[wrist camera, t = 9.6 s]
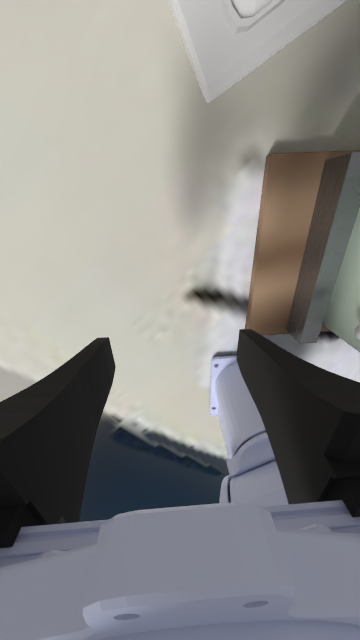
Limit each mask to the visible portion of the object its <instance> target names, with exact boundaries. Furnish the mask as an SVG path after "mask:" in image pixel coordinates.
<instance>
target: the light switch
mask: <svg viewBox="0 0 360 640" xmlns="http://www.w3.org/2000/svg"><path fill="white" fill-rule="evenodd" d="M167 1H168V4H169V6H170V9H171V12H172V14H173V17H174V20H175V22H176V25H177V28H178V30H179V33H180V36H181V38H182V41H183V44H184V46H185V49H186V51H187V54H188V57H189V59H190V62H191V65H192V67H193V70H194V73H195V75H196V78H197V81H198V83H199V86H200V89H201V91H202V94H203V97H204V99H205V101H207V102H208V103H209V102H212V101H213V100H214V99H216V98H217V97H218V96H220V95H221V94H222V93H224V92H225V91H226V90H228V89H229V88H230V87H232V86H233V85H234V84H236V83H237V82H238V81H240V80H241V79H242V78H244V77H245V76H246V75H248V74H249V73H250V72H252V71H253V70H254V69H256V68H257V67H258V66H260V65H261V64H262V63H264V62H265V61H266V60H268V59H269V58H270V57H272V56H273V55H274V54H276V53H277V52H279V51H280V50H281V49H283V48H284V47H285V46H287V45H288V44H289V43H291V42H292V41H293V40H295V39H296V38H297V37H299V36H300V35H301V34H303V33H304V32H305V31H307V30H308V29H309V28H311V27H312V26H313V25H315V24H316V23H317V22H319V21H320V20H321V19H323V18H324V17H325V16H327V15H328V14H329V13H331V12H332V11H333V10H335V9H336V8H337V7H339V6H340V5H341V4H343V3H344V2H345V1H347V0H167ZM248 17H249V18H248ZM242 18H243V19H242Z"/></svg>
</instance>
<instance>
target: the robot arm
mask: <svg viewBox="0 0 360 640" xmlns="http://www.w3.org/2000/svg"><path fill="white" fill-rule="evenodd" d="M215 364H217V365H215ZM114 373H115V362H114V358H113V354H112V349H111V345H110V341H109V337H107V338H97V339H95V340H94V341H93V342H91V343H90V344H89V345H88V346H86V347H85V348H84V349H83V350H81V351H80V352H79V353H78V354H76V355H75V356H74V357H73V358H71V359H70V360H69V361H67V362H66V363H65V364H63V365H62V366H60V367H59V368H58V369H56V370H55V371H54V372H52V373H51V374H49V375H48V376H46V377H45V378H43V379H41V380H40V381H38V382H36V383H35V384H33V385H31V386H30V387H28V388H26V389H24V390H23V391H20V392H19V393H17V394H15V395H13V396H11V397H9V398H7V399H6V400H3V401H2V402H0V640H360V383H359V382H356V381H353V380H350V379H348V378H345V377H342V376H339V375H337V374H334V373H332V372H329V371H326V370H324V369H322V368H319V367H317V366H315V365H313V364H311V363H309V362H306V361H304V360H302V359H300V358H298V357H297V356H295V355H293V354H291V353H289V352H287V351H286V350H284V349H282V348H281V347H279V346H277V345H276V344H274V343H272V342H271V341H269V340H268V339H266V338H265V337H263V336H262V335H260V334H258V333H257V332H255V331H253V330H252V329H242V330H240V331H239V340H238V349H237V355H236V356H220V357H214V358H213V359H212V363H211V387H210V411H209V412H210V415H212V416H218V418H219V422H220V426H221V430H222V434H223V438H224V443H225V447H226V451H227V455H228V458H229V460H227V466H228V470H229V474H230V475H229V476H226V477H225V478H224V479H223V481H222V486H221V492H220V503H219V504H207V505H196V506H184V507H172V508H159V509H148V510H136V511H132V512H127V513H122V514H117V515H116V516H114V517H113V518H111V519H110V520H100V521H88V522H79V518H80V511H81V505H82V499H83V494H84V488H85V483H86V477H87V472H88V467H89V462H90V458H91V453H92V448H93V444H94V440H95V435H96V431H97V428H98V424H99V421H100V418H101V415H102V412H103V409H104V406H105V404H106V401H107V398H108V395H109V392H110V389H111V386H112V383H113V378H114Z"/></svg>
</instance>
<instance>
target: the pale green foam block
mask: <svg viewBox="0 0 360 640" xmlns="http://www.w3.org/2000/svg"><path fill="white" fill-rule="evenodd" d="M323 325H324V326H325V327H327V328H328V329H329V330H331V331H332V332H333V333H335V334H336V335H337V336H339V337H340V338H341V339H343V340H344V341H345V342H347V343H348V344H349V345H351V346H352V347H353V348H355V349H356V350H357V351H359V352H360V208H359V211H358V214H357V218H356V221H355V224H354V227H353V230H352V233H351V236H350V239H349V243H348V246H347V249H346V252H345V255H344V258H343V261H342V265H341V268H340V271H339V274H338V277H337V280H336V283H335V286H334V290H333V293H332V296H331V299H330V302H329V305H328V308H327V312H326V315H325V318H324V321H323Z"/></svg>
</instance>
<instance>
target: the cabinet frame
mask: <svg viewBox="0 0 360 640" xmlns="http://www.w3.org/2000/svg"><path fill="white" fill-rule="evenodd" d="M359 208H360V151H333V152H305V153H276V154H271V155H269V156H267V157H266V164H265V172H264V180H263V188H262V196H261V204H260V212H259V220H258V228H257V236H256V244H255V252H254V260H253V268H252V277H251V285H250V293H249V301H248V309H247V317H246V325H245V329H252V330H253V331H255V332H257V333H258V334H260V335H274V334H291V335H292V336H293V337H294V338H295V339H296V340H297V341H298V342H299V343H315V342H317V340H318V337H319V333H320V332H324V331H331V330H329V329H328V328H327V327H325V326H324V325H323V321H324V318H325V315H326V312H327V308H328V305H329V302H330V299H331V296H332V293H333V290H334V286H335V283H336V280H337V277H338V274H339V271H340V268H341V265H342V261H343V258H344V255H345V252H346V249H347V246H348V243H349V239H350V236H351V233H352V230H353V227H354V224H355V221H356V218H357V214H358V211H359Z"/></svg>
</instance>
